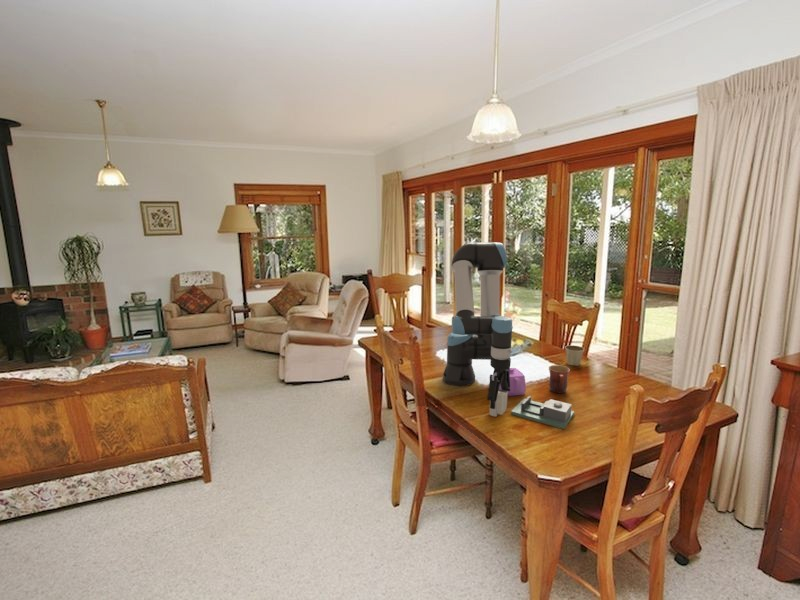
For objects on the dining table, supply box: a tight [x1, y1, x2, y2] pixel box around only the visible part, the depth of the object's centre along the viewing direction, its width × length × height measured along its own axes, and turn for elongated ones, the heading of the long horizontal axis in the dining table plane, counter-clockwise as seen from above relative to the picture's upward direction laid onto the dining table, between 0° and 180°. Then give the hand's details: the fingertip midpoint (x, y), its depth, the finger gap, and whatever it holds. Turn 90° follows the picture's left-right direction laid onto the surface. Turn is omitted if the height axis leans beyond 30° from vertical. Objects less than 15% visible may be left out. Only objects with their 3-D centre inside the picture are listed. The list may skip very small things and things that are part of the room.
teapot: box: [499, 367, 527, 397], centre depth 182 cm, size 18×10×10 cm, turn 8°
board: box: [510, 395, 575, 430], centre depth 160 cm, size 20×14×6 cm
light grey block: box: [497, 389, 508, 416], centre depth 163 cm, size 5×5×8 cm
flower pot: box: [564, 344, 585, 367], centre depth 213 cm, size 9×9×9 cm
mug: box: [548, 364, 571, 394], centre depth 179 cm, size 12×9×10 cm
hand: (498, 410), depth 163 cm, fingers open, 9 cm apart
